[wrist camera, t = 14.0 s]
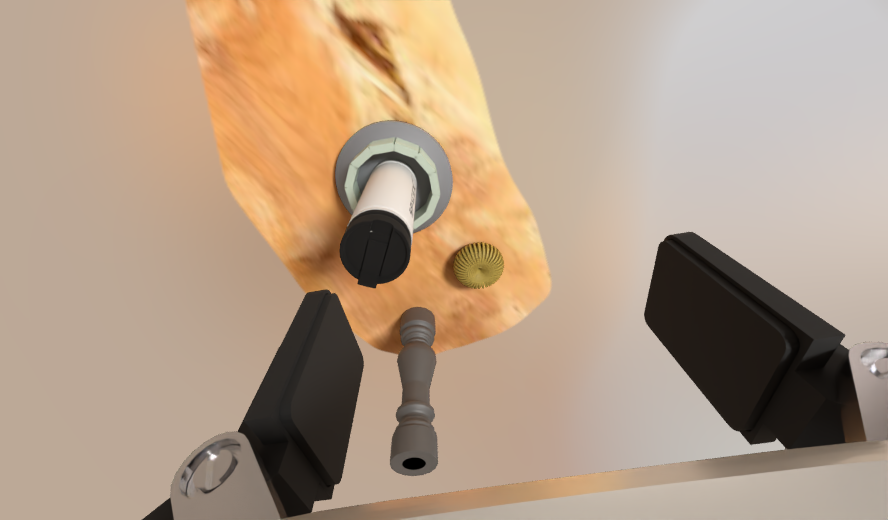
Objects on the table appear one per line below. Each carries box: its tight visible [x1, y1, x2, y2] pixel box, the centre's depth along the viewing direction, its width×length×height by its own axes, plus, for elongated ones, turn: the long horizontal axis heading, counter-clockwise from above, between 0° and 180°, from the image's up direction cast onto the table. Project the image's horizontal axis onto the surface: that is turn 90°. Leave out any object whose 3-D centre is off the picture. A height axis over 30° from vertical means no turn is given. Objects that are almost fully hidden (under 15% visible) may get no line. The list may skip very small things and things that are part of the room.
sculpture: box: [453, 242, 504, 289], centre depth 53 cm, size 8×4×8 cm
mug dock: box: [335, 120, 453, 233], centre depth 45 cm, size 16×16×4 cm
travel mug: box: [340, 159, 417, 288], centre depth 38 cm, size 6×7×20 cm
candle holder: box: [390, 307, 438, 476], centre depth 50 cm, size 6×6×25 cm
